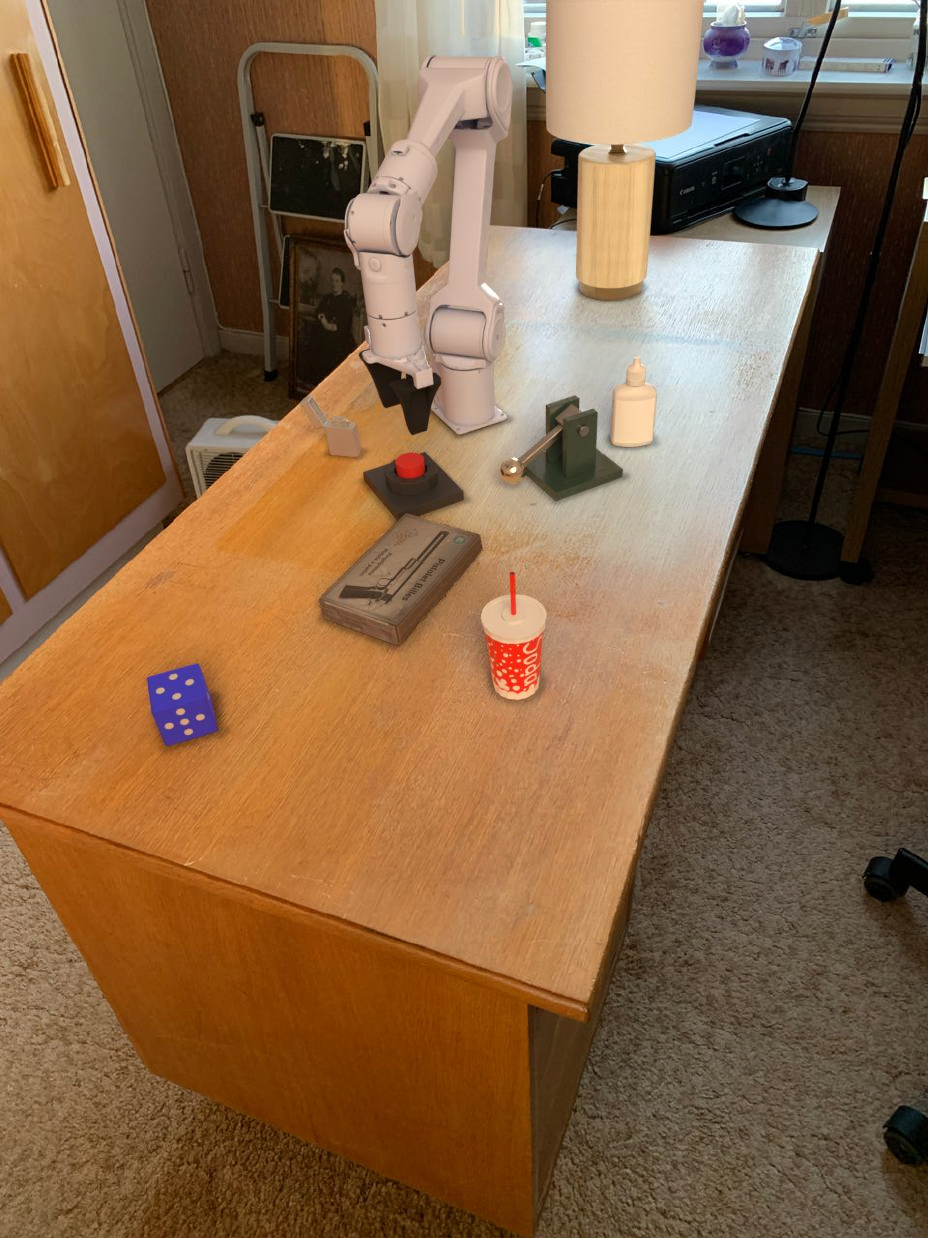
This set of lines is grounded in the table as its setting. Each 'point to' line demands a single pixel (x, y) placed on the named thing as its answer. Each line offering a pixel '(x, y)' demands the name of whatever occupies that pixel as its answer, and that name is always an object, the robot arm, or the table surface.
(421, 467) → the button
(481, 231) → the robot arm
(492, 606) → the beverage cup
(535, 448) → the lever
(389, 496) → the button box
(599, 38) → the lamp
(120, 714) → the table surface
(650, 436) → the eye dropper bottle
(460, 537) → the box
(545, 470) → the bracket
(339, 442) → the lighter
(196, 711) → the die
